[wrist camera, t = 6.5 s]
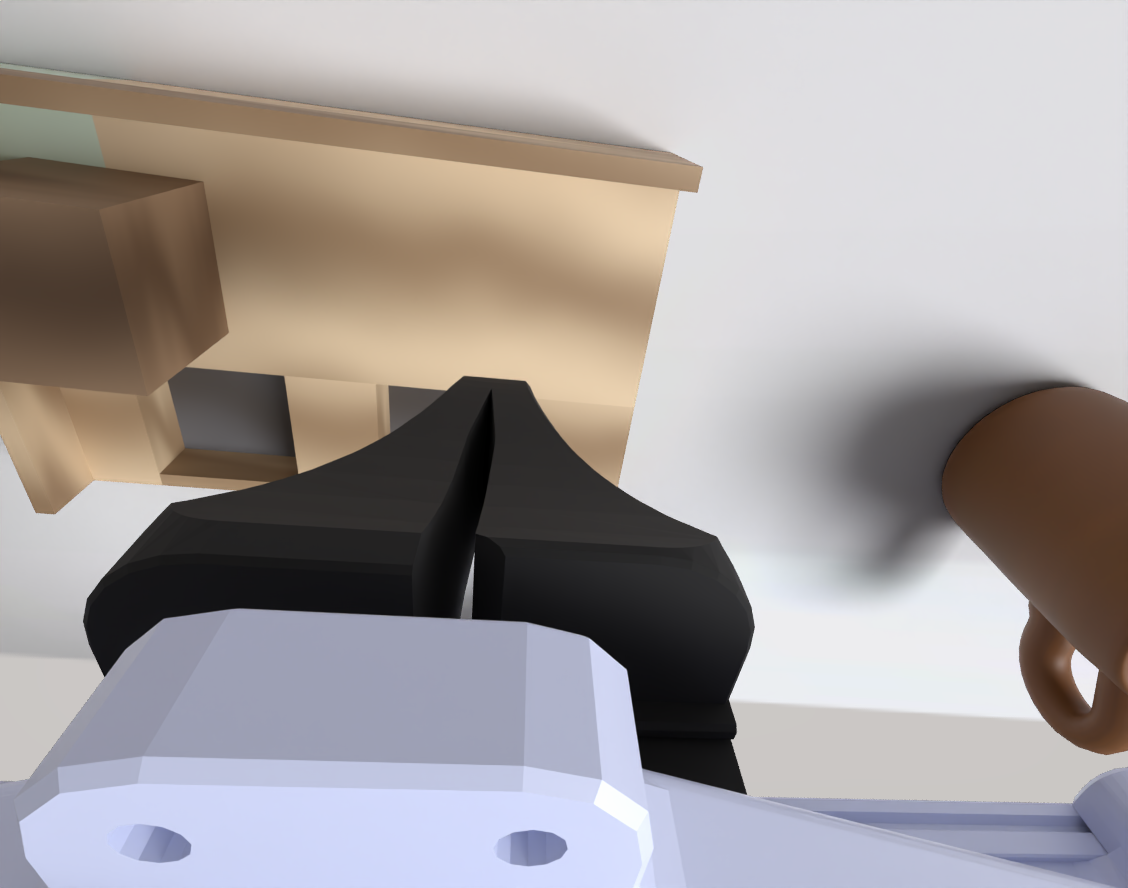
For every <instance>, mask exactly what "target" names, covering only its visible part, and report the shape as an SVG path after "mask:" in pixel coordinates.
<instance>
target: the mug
mask: <svg viewBox="0 0 1128 888" xmlns="http://www.w3.org/2000/svg"><path fill="white" fill-rule="evenodd" d="M942 496H943V501H944V504H945V507H946V508H947V510H948V512H949V514H950V515H951V517H952V519H953V520H954V521H955V522H956V523H957V525H958V526H959V527H960V528H961V529H962V530H963V531H964V532H965V533H966V535H967V536H968V537H969V538H970V539H971V540H972V541H973V542H974V543H975V544H976V545H977V546H978V547H979V548H980V549H981V550H982V551H983V552H984V553H985V554H986V555H987V557H988V558H989V559H990V560H991V561H992V562H993V563H994V564H995V565H996V566H997V567H998V568H999V569H1000V571H1001V572H1002V573H1003V574H1004V575H1005V576H1006V577H1007V578H1008V579H1009V580H1010V581H1011V582H1012V583H1013V584H1014V585H1015V587H1016V588H1017V589H1018V590H1019V591H1020V592H1021V593H1022V594H1023V595H1024V596H1025V597H1026V598H1027V599H1028V600H1029V605H1028V606H1029V615H1030V617H1029V619H1028V622H1027V624H1026V626H1025V628H1024V630H1023V633H1022V636H1021V640H1020V646H1019V662H1020V667H1021V673H1022V676H1023V680H1024V683H1025V686H1026V688H1027V691H1028V693H1029V695H1030V697H1031V699H1032V701H1033V703H1034V704H1035V706H1036V708H1037V709H1038V711H1039V712H1040V714H1041V715H1042V717H1043V718H1044V719H1045V720H1046V721H1047V722H1048V723H1049V725H1050V726H1051V727H1053V729H1054V730H1055V731H1056V732H1057V733H1059V734H1060V735H1061V736H1063V737H1064V738H1066V739H1067V740H1069V741H1070V742H1072V743H1073V744H1074V745H1076V746H1078V747H1080V748H1083V749H1086V750H1089V751H1092V752H1095V753H1099V754H1104V755H1109V754H1114V753H1119V752H1124V751H1127V750H1128V402H1126V401H1124V400H1121V399H1119V398H1117V397H1114V396H1112V395H1110V394H1107V393H1105V392H1101V391H1098V390H1094V389H1089V388H1084V387H1059V388H1051V389H1045V390H1041V391H1037V392H1033V393H1030V394H1027V395H1024V396H1022V397H1019V398H1017V399H1015V400H1013V401H1010V402H1008V403H1006V404H1005V405H1003V406H1001V407H999V408H998V409H996V410H994V411H993V412H992V413H990V414H989V415H987V416H986V417H984V418H983V419H982V420H981V421H980V422H978V423H977V424H976V425H975V426H974V427H973V428H972V429H971V430H970V431H969V432H968V433H967V434H966V435H965V436H964V437H963V438H962V439H961V441H960V442H959V443H958V445H957V446H956V447H955V449H954V450H953V452H952V454H951V456H950V457H949V459H948V461H947V464H946V467H945V469H944V473H943V478H942ZM1075 649H1077V650H1078V651H1079V652H1080V653H1081V654H1082V655H1083V656H1084V657H1085V658H1087V659H1088V660H1089V661H1090V662H1091V663H1092V664H1093V665H1095V666H1096V667H1097V668H1098V669H1099V673H1098V678H1097V683H1096V689H1095V694H1094V700H1093V705H1092V708H1091V707H1090V706H1089V705H1088V704H1087V702H1086V701H1085V700H1084V698H1083V697H1082V695H1081V694H1080V692H1079V690H1078V688H1077V686H1076V684H1075V681H1074V679H1073V676H1072V671H1071V658H1072V655H1073V653H1074V650H1075Z"/></svg>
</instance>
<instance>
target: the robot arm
mask: <svg viewBox="0 0 1128 888" xmlns="http://www.w3.org/2000/svg"><path fill="white" fill-rule="evenodd" d="M474 552H475V557H474V582H473V608H472V619H460V616H461V610H462V604H463V599H464V594H465V589H466V585H467V581H468V577H469V573H470V569H471V564H472V560H473V556H474ZM83 623H84V627H85V631H86V634H87V638H88V642H89V645H90V647H91V650H92V652H93V654H94V656H95V658H96V660H97V662H98V664H99V667H100V669H101V671H102V673H103V675H104V677H105V678H104V679H103V680H102V682H101V683H100V684H99V686H98V687H97V688H96V690H95V691H94V693H93V694H92V695H91V696H90V698H89V699H88V700H87V702H86V703H85V704H84V706H83V707H82V709H81V710H80V711H79V713H78V714H77V715H76V717H75V718H74V719H73V721H72V722H71V723H70V725H69V726H68V727H67V729H66V730H65V732H64V733H63V734H62V735H61V737H60V738H59V739H58V741H57V742H56V743H55V745H54V746H53V747H52V749H51V750H50V751H49V753H48V754H47V755H46V757H45V758H44V759H43V761H42V762H41V763H40V765H39V766H38V768H37V769H36V770H35V772H34V773H33V774H32V776H31V777H30V778H29V779H26V780H21V781H0V888H1128V767H1126V768H1117V769H1113V770H1110V771H1107V772H1105V773H1102V774H1100V775H1098V776H1097V777H1095V778H1094V779H1092V780H1090V781H1089V782H1088V783H1087V784H1086V785H1085V786H1084V787H1083V788H1082V789H1081V790H1080V791H1079V793H1078V794H1077V795H1076V796H1075V798H1074V801H1073V804H1072V803H1071V804H1069V803H1021V802H976V801H928V800H881V799H879V800H877V799H832V798H786V797H753V796H749V795H747V793H746V789H745V786H744V783H743V779H742V776H741V773H740V769H739V766H738V762H737V759H736V756H735V753H734V749H733V746H732V742H731V739H734V737H735V735H736V733H737V729H736V721H735V718H734V715H733V712H732V709H731V706H730V702H729V697H730V695H731V693H732V690H733V688H734V685H735V683H736V681H737V678H738V676H739V673H740V671H741V669H742V666H743V664H744V661H745V659H746V657H747V654H748V652H749V649H750V646H751V642H752V637H753V633H754V628H755V626H754V620H753V614H752V608H751V605H750V603H749V600H748V598H747V595H746V593H745V590H744V588H743V586H742V583H741V581H740V579H739V577H738V575H737V573H736V571H735V568H734V566H733V564H732V563H731V561H730V559H729V557H728V556H727V554H726V552H725V551H724V549H723V547H722V545H721V543H720V541H719V539H718V538H717V537H716V536H714V535H711V534H709V533H706V532H704V531H702V530H699V529H697V528H694V527H692V526H690V525H687V524H685V523H682V522H680V521H678V520H675V519H673V518H671V517H668V516H666V515H664V514H662V513H661V512H659V511H657V510H655V509H653V508H651V507H649V506H647V505H646V504H644V503H642V502H640V501H638V500H637V499H635V498H633V497H632V496H630V495H629V494H627V493H625V492H624V491H622V490H621V489H619V488H618V487H617V486H615V485H614V484H612V483H611V482H610V481H608V480H607V479H605V478H604V477H603V476H601V475H600V474H599V473H598V472H596V471H595V470H594V469H593V468H591V467H590V466H589V465H588V464H587V463H586V462H585V461H584V460H583V459H582V458H580V457H579V456H578V455H577V454H576V453H575V452H574V451H573V450H572V449H571V448H570V446H569V445H568V444H567V443H566V442H565V441H564V439H563V438H562V437H561V436H560V434H559V433H558V432H557V431H556V429H555V428H554V426H553V425H552V424H551V422H550V421H549V419H548V418H547V416H546V415H545V413H544V412H543V410H542V409H541V407H540V405H539V403H538V402H537V400H536V398H535V396H534V394H533V392H532V390H531V387H530V386H529V384H528V383H527V382H526V381H521V380H509V379H498V378H486V377H474V376H463V377H462V378H460V379H459V380H458V381H457V382H456V383H454V384H453V385H452V386H451V387H450V388H449V389H448V390H447V391H445V392H444V393H443V394H442V395H441V396H440V397H439V398H437V399H436V400H435V401H434V402H433V403H431V404H430V405H429V406H428V407H426V408H425V409H424V410H423V411H422V412H420V413H419V414H418V415H416V416H415V417H413V418H412V419H410V420H409V421H408V422H406V423H405V424H403V425H402V426H400V427H399V428H398V429H396V430H394V431H393V432H391V433H390V434H388V435H386V436H384V437H383V438H381V439H379V440H377V441H375V442H373V443H371V444H370V445H368V446H366V447H364V448H362V449H360V450H358V451H356V452H353V453H351V454H349V455H346V456H344V457H341V458H339V459H336V460H334V461H331V462H329V463H327V464H324V465H322V466H319V467H317V468H314V469H311V470H309V471H306V472H303V473H299V474H296V475H293V476H290V477H287V478H284V479H280V480H276V481H273V482H269V483H266V484H262V485H258V486H254V487H250V488H246V489H242V490H237V491H232V492H227V493H222V494H217V495H212V496H208V497H203V498H198V499H193V500H188V501H182V502H175V503H171V504H170V505H169V506H168V507H167V508H166V509H165V510H164V511H163V512H162V513H161V514H160V515H159V516H158V517H157V518H156V519H155V521H154V522H153V523H152V524H151V525H150V526H149V527H148V528H147V529H146V530H145V531H144V532H143V533H142V535H141V536H140V537H139V538H138V539H137V540H136V541H135V542H134V544H133V545H132V546H131V547H130V548H129V549H128V550H127V551H126V552H125V554H124V555H123V556H122V557H121V558H120V559H119V560H118V561H117V563H116V564H115V565H114V566H113V567H112V568H111V569H110V570H109V571H108V573H107V574H106V575H105V576H104V577H103V578H102V579H101V581H100V582H99V583H98V585H97V586H96V587H95V589H94V590H93V591H92V593H91V594H90V595H89V597H88V598H87V602H86V608H85V613H84V619H83Z"/></svg>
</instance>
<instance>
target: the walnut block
mask: <svg viewBox="0 0 1128 888" xmlns="http://www.w3.org/2000/svg"><path fill="white" fill-rule="evenodd" d="M228 333H229V330H228V324H227V318H226V312H225V306H224V300H223V294H222V288H221V282H220V277H219V271H218V265H217V259H216V253H215V247H214V241H213V235H212V229H211V223H210V217H209V211H208V205H207V199H206V194H205V188H204V182H203V181H196V180H189V179H181V178H174V177H167V176H160V175H153V174H146V173H139V172H132V171H125V170H118V169H110V168H103V167H96V166H89V165H82V164H75V163H68V162H61V161H54V160H47V159H39V158H32V157H26V158H18V159H10V160H3V161H0V381H3V382H13V383H23V384H32V385H42V386H52V387H62V388H71V389H81V390H91V391H101V392H110V393H120V394H130V395H140V396H149V395H150V394H151V393H153V392H154V391H155V390H157V389H158V388H159V387H160V386H162V385H163V384H164V383H166V382H167V381H168V380H169V379H171V378H172V377H173V376H175V375H176V374H177V373H178V372H180V371H181V370H182V369H183V368H185V367H186V366H187V365H189V364H190V363H191V362H192V361H194V360H195V359H196V358H198V357H199V356H200V355H201V354H203V353H204V352H205V351H207V350H208V349H209V348H210V347H212V346H213V345H214V344H216V343H217V342H218V341H219V340H221V339H222V338H223V337H225V336H226V335H227V334H228Z"/></svg>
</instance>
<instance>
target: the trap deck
mask: <svg viewBox="0 0 1128 888" xmlns="http://www.w3.org/2000/svg"><path fill="white" fill-rule="evenodd" d="M26 157H32V158H39V159H47V160H54V161H61V162H68V163H75V164H82V165H89V166H96V167H103V168H110V169H118V170H125V171H132V172H139V173H146V174H153V175H160V176H167V177H174V178H181V179H189V180H196V181H203V182H204V188H205V194H206V199H207V205H208V211H209V217H210V223H211V229H212V235H213V241H214V247H215V253H216V259H217V265H218V271H219V277H220V282H221V288H222V294H223V300H224V306H225V312H226V318H227V324H228V330H229V333H228V334H227V335H226V336H225V337H223V338H222V339H221V340H219V341H218V342H217V343H216V344H214V345H213V346H212V347H210V348H209V349H208V350H207V351H205V352H204V353H203V354H201V355H200V356H199V357H198V358H196V359H195V360H194V361H192V362H191V363H190V364H189V365H187V366H186V367H185V368H183V369H182V370H181V371H180V372H178V373H177V374H176V375H175V376H173V377H172V378H171V379H169V380H168V381H167V382H166V383H164V384H163V385H162V386H160V387H159V388H158V389H157V390H155V391H154V392H153V393H151V394H150V395H149V396H140V395H130V394H120V393H110V392H101V391H91V390H81V389H71V388H62V387H52V386H42V385H32V384H23V383H13V382H3V381H0V435H1V437H2V439H3V441H4V444H5V446H6V448H7V450H8V452H9V455H10V457H11V459H12V461H13V464H14V466H15V468H16V470H17V472H18V475H19V477H20V479H21V481H22V483H23V486H24V488H25V490H26V492H27V495H28V497H29V499H30V501H31V503H32V506H33V508H34V510H35V512H36V513H44V514H56V513H57V512H58V511H59V510H60V509H61V508H63V507H64V506H65V505H66V504H67V503H68V502H69V501H71V500H72V499H73V498H74V497H75V496H76V495H77V494H79V493H80V492H81V491H82V490H83V489H84V488H85V487H87V486H88V485H89V484H90V483H91V482H92V481H94V480H98V481H112V482H126V483H140V484H154V485H168V486H182V487H196V488H210V489H224V490H242V489H246V488H250V487H254V486H258V485H262V484H266V483H269V482H273V481H276V480H280V479H284V478H287V477H290V476H293V475H296V474H299V473H303V472H306V471H309V470H311V469H314V468H317V467H319V466H322V465H324V464H327V463H329V462H331V461H334V460H336V459H339V458H341V457H344V456H346V455H349V454H351V453H353V452H356V451H358V450H360V449H362V448H364V447H366V446H368V445H370V444H371V443H373V442H375V441H377V440H379V439H381V438H383V437H384V436H386V435H388V434H390V433H391V432H393V431H394V430H396V429H398V428H399V427H400V426H402V425H403V424H405V423H406V422H408V421H409V420H410V419H412V418H413V417H415V416H416V415H418V414H419V413H420V412H422V411H423V410H424V409H425V408H426V407H428V406H429V405H430V404H431V403H433V402H434V401H435V400H436V399H437V398H439V397H440V396H441V395H442V394H443V393H444V392H445V391H447V390H448V389H449V388H450V387H451V386H452V385H453V384H454V383H456V382H457V381H458V380H459V379H460V378H462V377H463V376H474V377H486V378H498V379H509V380H521V381H526V382H527V383H528V384H529V386H530V387H531V390H532V392H533V394H534V396H535V398H536V400H537V402H538V403H539V405H540V407H541V409H542V410H543V412H544V413H545V415H546V416H547V418H548V419H549V421H550V422H551V424H552V425H553V426H554V428H555V429H556V431H557V432H558V433H559V434H560V436H561V437H562V438H563V439H564V441H565V442H566V443H567V444H568V445H569V446H570V448H571V449H572V450H573V451H574V452H575V453H576V454H577V455H578V456H579V457H580V458H582V459H583V460H584V461H585V462H586V463H587V464H588V465H589V466H590V467H591V468H593V469H594V470H595V471H596V472H598V473H599V474H600V475H601V476H603V477H604V478H605V479H607V480H608V481H610V482H611V483H612V484H614V485H615V486H617V487H618V483H619V478H620V473H621V468H622V464H623V459H624V454H625V449H626V444H627V440H628V435H629V430H630V425H631V420H632V416H633V411H634V406H635V401H636V396H637V392H638V387H639V382H640V377H641V372H642V368H643V363H644V358H645V353H646V348H647V343H648V339H649V334H650V329H651V324H652V319H653V315H654V310H655V305H656V300H657V295H658V291H659V286H660V281H661V276H662V271H663V267H664V262H665V257H666V252H667V247H668V243H669V238H670V233H671V228H672V223H673V219H674V214H675V209H676V204H677V199H678V195H679V190H680V191H688V192H696V193H697V192H698V188H699V183H700V179H701V174H702V170H703V167H701V166H699V165H697V164H695V163H692V162H690V161H688V160H686V159H684V158H682V157H679V156H677V155H675V154H673V153H668V152H661V151H653V150H646V149H638V148H631V147H623V146H616V145H608V144H601V143H594V142H586V141H579V140H571V139H564V138H556V137H549V136H542V135H534V134H527V133H519V132H512V131H504V130H497V129H490V128H482V127H475V126H467V125H460V124H452V123H445V122H437V121H430V120H423V119H415V118H408V117H400V116H393V115H385V114H378V113H371V112H363V111H356V110H348V109H341V108H333V107H326V106H319V105H311V104H304V103H296V102H289V101H281V100H274V99H266V98H259V97H252V96H244V95H237V94H229V93H222V92H214V91H207V90H200V89H192V88H185V87H177V86H170V85H162V84H155V83H147V82H140V81H133V80H125V79H118V78H110V77H103V76H95V75H88V74H81V73H73V72H66V71H58V70H51V69H43V68H36V67H29V66H21V65H14V64H6V63H0V161H3V160H10V159H18V158H26Z"/></svg>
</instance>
